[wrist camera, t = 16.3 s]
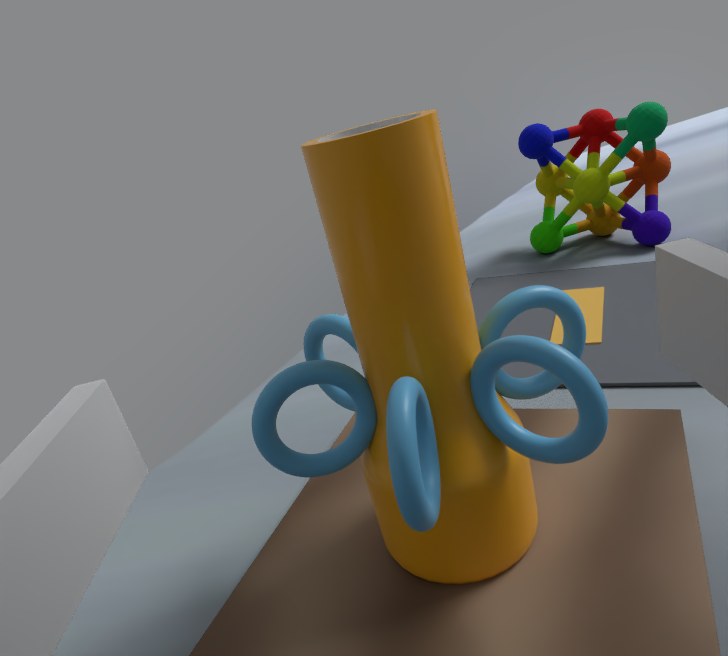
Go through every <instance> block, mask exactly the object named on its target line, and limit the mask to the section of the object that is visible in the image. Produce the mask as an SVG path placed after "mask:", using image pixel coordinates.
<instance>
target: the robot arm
mask: <svg viewBox="0 0 728 656" xmlns="http://www.w3.org/2000/svg"><path fill="white" fill-rule="evenodd" d="M655 258H656V279H657V300H658V322H659V343H660V354H661V355H663V356H664V357H665V358H666V359H668V360H669V361H670V362H671V363H673V364H674V365H675V366H677V367H678V368H679V369H680V370H682V371H683V372H684V373H685V374H687V375H688V376H689V377H691V378H692V379H693V380H694V381H696V382H697V383H698V384H699V385H701V386H702V387H703V388H704V389H706V390H707V391H708V392H710V393H711V394H712V395H713V396H715V397H716V398H717V399H718V400H720V401H721V402H722V403H723V404H725V405H726V406H727V407H728V252H725V251H723V250H720V249H717V248H715V247H712V246H710V245H707V244H705V243H702V242H699V241H697V240H694V239H692V238H685V239H681V240H676V241H672V242H668V243H664V244H660V245H656V246H655ZM148 472H149V471H148V469H147V467H146V465H145V463H144V461H143V459H142V456H141V454H140V452H139V450H138V448H137V446H136V444H135V442H134V439H133V437H132V435H131V433H130V431H129V429H128V427H127V425H126V423H125V420H124V418H123V416H122V414H121V412H120V410H119V408H118V406H117V403H116V401H115V399H114V397H113V395H112V393H111V391H110V389H109V387H108V384H107V382H106V380H105V379H102V380H97V381H93V382H89V383H85V384H81V385H77V386H74V387H73V388H72V389H71V390H70V391H69V392H68V393H67V395H66V396H65V397H64V398H63V399H62V400H61V401H60V402H59V403H58V404H57V405H56V406H55V407H54V408H53V409H52V411H50V413H49V414H48V415H47V416H46V417H45V418H44V419H43V420H42V421H41V422H40V423H39V424H38V425H37V426H36V427H35V429H34V430H33V431H32V432H31V433H30V434H29V435H28V436H27V437H26V438H25V439H24V440H23V441H22V442H21V443H20V445H18V447H17V448H16V449H15V450H14V451H13V452H12V453H11V454H10V455H9V456H8V457H7V458H6V459H5V460H4V461H3V462H2V463H1V465H0V656H52V655H53V653H54V652H55V650H56V648H57V646H58V644H59V642H60V640H61V638H62V636H63V634H64V632H65V631H66V629H67V627H68V625H69V623H70V621H71V619H72V617H73V615H74V613H75V611H76V610H77V608H78V606H79V604H80V602H81V600H82V598H83V596H84V594H85V592H86V590H87V588H88V587H89V585H90V583H91V581H92V579H93V577H94V575H95V573H96V571H97V569H98V567H99V566H100V564H101V562H102V560H103V558H104V556H105V554H106V552H107V550H108V548H109V546H110V545H111V543H112V541H113V539H114V537H115V535H116V533H117V531H118V529H119V527H120V525H121V523H122V522H123V520H124V518H125V516H126V514H127V512H128V510H129V508H130V506H131V504H132V502H133V501H134V499H135V497H136V495H137V493H138V491H139V489H140V487H141V485H142V483H143V481H144V479H145V478H146V476H147V474H148Z"/></svg>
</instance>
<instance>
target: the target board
mask: <svg viewBox="0 0 728 656" xmlns="http://www.w3.org/2000/svg"><path fill="white" fill-rule="evenodd" d="M513 410H514V411H515V412H516V414H517V415H518V416H519V418H520V420H521V422H522V424H523V427H524V428H525V429H526V430H528V431H530V432H532V433H534V434H537V435H540V436H543V437H549V438H559V437H564V436H567V435H569V434H570V433H572V432H573V431H574V429H575V428H576V426H577V423H578V409H513ZM355 419H356V412H355V413H354V415H353V416H352V418H351V419H350V421H349V422H348V424H347V425H346V427H345V428H344V430H343V431H342V432H341V434H340V435H339V437H338V438H337V440H336V441H335V443H334V444H333V446H332V447H331V449H333V448H335V447H336V446H338V445H339V444H341V443H342V442H343V441H344V440H345V439H346V438H347V437H348V435H349V434H350V432H351V431H352V429H353V426H354V424H355ZM331 449H330V450H331ZM529 459H530V458H529ZM530 466H531V472H532V478H533V484H534V491H535V497H536V503H537V511H538V526H537V531H536V534H535V537H534V540H533V541H532V543H531V546H530V548H529V549H528V550H527V552H526V553H525V555H524V556H523V557H521V559H520V560H519V561H518V562H516V563H515V564H513V565H512V566H511V567H510V568H509V569H507V570H505V571H503V572H501V573H499V574H497V575H495V576H494V577H491V578H487V579H484V580H481V581H478V582H472V583H465V584H442V583H437V582H431V581H427V580H425V579H423V578H420V577H417V576H415V575H413V574H411V573H410V572H409V571H407V570H405V569H404V568H403V567H402V566H401V565H400V564H399V563H398V562H397V561H396V560H395V559H394V558H393V557H392V556H391V554H390V553H389V551H388V549H387V547H386V545H385V542H384V539H383V536H382V533H381V529H380V526H379V523H378V519H377V516H376V513H375V509H374V506H373V503H372V500H371V496H370V493H369V490H368V486H367V483H366V480H365V476H364V473H363V469H362V465H361V459H360V457H359V458H358V459H356V460H355V461H354V462H353V463H351V464H350V465H349V466H347V467H345V468H344V469H342V470H340V471H337V472H335V473H332V474H329V475H325V476H320V477H311V478H310V479H309V481H308V482H307V484H306V485H305V487H304V488H303V490H302V491H301V493H300V494H299V496H298V497H297V498H296V500H295V501H294V503H293V504H292V506H291V507H290V509H289V510H288V512H287V513H286V515H285V516H284V518H283V519H282V520H281V522H280V523H279V525H278V526H277V528H276V529H275V531H274V532H273V534H272V535H271V537H270V538H269V540H268V541H267V542H266V544H265V545H264V547H263V548H262V550H261V551H260V553H259V554H258V556H257V557H256V559H255V560H254V562H253V563H252V564H251V566H250V567H249V569H248V570H247V572H246V573H245V575H244V576H243V578H242V579H241V581H240V582H239V584H238V585H237V586H236V588H235V589H234V591H233V592H232V594H231V595H230V597H229V598H228V600H227V601H226V603H225V604H224V606H223V607H222V608H221V610H220V611H219V613H218V614H217V616H216V617H215V619H214V620H213V622H212V623H211V625H210V626H209V628H208V629H207V630H206V632H205V633H204V635H203V636H202V638H201V639H200V641H199V642H198V644H197V645H196V647H195V648H194V649H193V651H192V652H191V654H190V655H189V656H720V650H719V644H718V637H717V631H716V625H715V619H714V613H713V607H712V601H711V595H710V588H709V582H708V576H707V570H706V564H705V558H704V552H703V545H702V539H701V533H700V527H699V521H698V515H697V509H696V503H695V496H694V490H693V484H692V478H691V472H690V466H689V460H688V454H687V447H686V441H685V435H684V429H683V423H682V417H681V411H680V410H673V409H608V427H607V431H606V434H605V437H604V439H603V441H602V442H601V444H600V445H599V447H598V448H597V449H596V450H595V451H594V452H593V453H591V454H590V455H589V456H587V457H585V458H583V459H581V460H579V461H576V462H572V463H566V464H550V463H544V462H540V461H536V460H533V459H530Z"/></svg>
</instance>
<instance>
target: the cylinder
mask: <svg viewBox="0 0 728 656" xmlns="http://www.w3.org/2000/svg"><path fill="white" fill-rule="evenodd" d="M301 147H302V151H303V155H304V158H305V162H306V166H307V169H308V173H309V176H310V180H311V184H312V187H313V191H314V194H315V198H316V202H317V205H318V209H319V212H320V216H321V219H322V223H323V227H324V230H325V234H326V238H327V241H328V245H329V249H330V252H331V256H332V259H333V263H334V267H335V270H336V274H337V277H338V281H339V284H340V288H341V292H342V295H343V299H344V303H345V306H346V310H347V314H348V317H349V319H348V318H346V317H344V316H340V315H336V314H326V315H322V316H319V317H317V318H316V319H314V320H313V321H312V322H311V323H310V325H309V326H308V328H307V330H306V332H305V336H304V353H305V358H306V361H307V362H302V363H299V364H296V365H294V366H291V367H289V368H287V369H286V370H284V371H282V372H281V373H279V374H278V375H277V376H275V377H274V378H273V379H272V380H271V381H270V382H269V383H268V384H267V385H266V387H265V388H264V389H263V391H262V392H261V394H260V395H259V397H258V399H257V401H256V404H255V407H254V410H253V415H252V432H253V437H254V441H255V443H256V446H257V448H258V450H259V451H260V453H261V454H262V456H263V457H264V458H265V459H266V460H267V461H268V462H269V463H270V464H271V465H273V466H274V467H275V468H277V469H279V470H281V471H283V472H285V473H287V474H290V475H294V476H299V477H320V476H325V475H329V474H332V473H335V472H337V471H340V470H342V469H344V468H345V467H347V466H349V465H350V464H351V463H353V462H354V461H355V460H356V459H358V458H359V457H360V459H361V465H362V469H363V473H364V476H365V480H366V483H367V486H368V490H369V493H370V496H371V500H372V503H373V506H374V509H375V513H376V516H377V519H378V523H379V526H380V529H381V533H382V536H383V539H384V542H385V545H386V547H387V549H388V551H389V553H390V554H391V556H392V557H393V558H394V559H395V560H396V561H397V562H398V563H399V564H400V565H401V566H402V567H403V568H404V569H405V570H407V571H409V572H410V573H411V574H413V575H415V576H417V577H420V578H423V579H425V580H427V581H431V582H437V583H442V584H465V583H472V582H478V581H481V580H484V579H487V578H491V577H494V576H495V575H497V574H499V573H501V572H503V571H505V570H507V569H509V568H510V567H511V566H512V565H513V564H515V563H516V562H518V561H519V560H520V559H521V557H523V556H524V555H525V553H526V552H527V550H528V549H529V548H530V546H531V543H532V541H533V540H534V537H535V534H536V531H537V526H538V511H537V503H536V497H535V491H534V484H533V478H532V472H531V466H530V459H533V460H536V461H540V462H544V463H550V464H566V463H572V462H576V461H579V460H581V459H583V458H585V457H587V456H589V455H590V454H591V453H593V452H594V451H595V450H596V449H597V448H598V447H599V445H600V444H601V442H602V441H603V439H604V437H605V434H606V431H607V427H608V407H607V402H606V398H605V395H604V393H603V391H602V388H601V386H600V384H599V383H598V381H597V379H596V378H595V376H594V375H593V374H592V372H591V371H590V370H589V369H588V368H587V366H586V365H585V364H584V363H583V362H582V361H581V360H580V359H581V356H582V354H583V351H584V347H585V342H586V324H585V319H584V316H583V313H582V311H581V309H580V307H579V306H578V304H577V303H576V302H575V300H574V299H573V298H572V297H571V296H569V295H568V294H567V293H565V292H563V291H562V290H560V289H557V288H554V287H551V286H544V285H535V286H528V287H524V288H521V289H518V290H516V291H514V292H512V293H510V294H508V295H507V296H505V297H504V298H502V299H501V300H500V301H499V302H497V303H496V304H495V305H494V306H493V307H492V309H491V310H490V311H489V312H488V314H487V315H486V317H485V318H484V320H483V322H482V324H481V326H480V328H479V331H478V330H477V324H476V319H475V314H474V309H473V303H472V298H471V292H470V287H469V282H468V276H467V271H466V266H465V260H464V255H463V249H462V244H461V239H460V233H459V228H458V222H457V218H456V212H455V206H454V201H453V195H452V190H451V184H450V179H449V173H448V168H447V163H446V157H445V152H444V146H443V141H442V135H441V130H440V124H439V119H438V114H437V110H436V109H433V110H426V111H420V112H416V113H411V114H406V115H401V116H397V117H393V118H389V119H385V120H381V121H377V122H373V123H369V124H365V125H361V126H358V127H354V128H350V129H347V130H343V131H340V132H336V133H333V134H330V135H327V136H323V137H320V138H317V139H314V140H311V141H309V142H306V143H304V144H302V145H301ZM532 308H546V309H549V310H551V311H553V312H554V313H555V314H557V316H558V317H559V318H560V320H561V322H562V326H563V342H562V346H559V345H557V344H555V343H553V342H551V341H548V340H545V339H542V338H538V337H534V336H526V335H514V336H507V337H503V338H500V337H501V335H502V333H503V331H504V329H505V328H506V326H507V325H508V324H509V323H510V322H511V321H512V320H513V319H514V318H515V317H516V316H517V315H519V314H520V313H522V312H524V311H526V310H529V309H532ZM328 334H333V335H336V336H339V337H341V338H342V339H344V340H345V341H347V342H348V343H349V344H350V345H351V346H352V347H353V348H354V349H355V350H356V352H357V353H358V354H359V358H360V362H361V365H362V369H363V373H364V377H365V378H364V377H363V376H362V375H361V374H360V373H359V372H357V371H356V370H354V369H353V368H351V367H349V366H347V365H345V364H342V363H339V362H335V361H329V360H326V359H325V357H324V353H323V339H324V337H325V336H326V335H328ZM512 362H525V363H530V364H533V365H536V366H539V367H541V368H543V369H545V370H543V371H542V372H540V373H539V374H537V375H534V376H531V377H528V378H515V377H512V376H510V375H508V374H507V373H505V372H504V371H503V369H502V368H501V367H503V366H504V365H506V364H508V363H512ZM562 383H563V384H564V385H565V386H566V388H567V389H568V390H569V392H570V393H571V395H572V396H573V398H574V400H575V403H576V405H577V409H578V423H577V426H576V428H575V429H574V431H573V432H572V433H570V434H569V435H567V436H564V437H559V438H549V437H543V436H540V435H537V434H534V433H532V432H530V431H528V430H526V429H525V428H524V427H523V424H522V422H521V420H520V418H519V416H518V415H517V414H516V412H515V411H514V410H513V409H512V407H511V406H510V405H509V404H508V403H507V402H506V401H505V399H504V398H503V397H502V396H505V397H508V398H512V399H531V398H536V397H539V396H542V395H544V394H547V393H549V392H550V391H552V390H554V389H555V388H557V387H558V386H559V385H561V384H562ZM314 384H318V385H319V386H320V387H321V389H322V390H323V391H324V392H325V393H326V394H327V395H328V396H329V397H330V398H331V399H332V400H334V401H335V402H336V403H338V404H339V405H341V406H342V407H344V408H346V409H349V410H352V411H356V419H355V424H354V426H353V429H352V431H351V432H350V434H349V435H348V437H347V438H346V439H345V440H344V441H343V442H342V443H341V444H339V445H338V446H336V447H335V448H333V449H331V450H329V451H326V452H323V453H318V454H303V453H299V452H296V451H293V450H291V449H290V448H288V447H287V446H286V445H285V444H284V443H283V442H282V441H281V440H280V438H279V436H278V434H277V430H276V418H277V414H278V411H279V409H280V407H281V405H282V404H283V402H284V401H285V400H286V399H287V398H288V397H289V396H290V395H291V394H293V393H294V392H295V391H297V390H299V389H301V388H303V387H306V386H309V385H314ZM501 395H502V396H501ZM529 458H530V459H529Z"/></svg>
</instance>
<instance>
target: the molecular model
mask: <svg viewBox="0 0 728 656" xmlns="http://www.w3.org/2000/svg"><path fill="white" fill-rule="evenodd" d="M667 121H668V119H667V112H666V110H665V108H664V107H663V106H661V105H660V104H658V103H655V102H645V103H642V104H640V105H638V106H636V107H635V108H634V109H632V111H631V112H630V114H629V115H628V117H627V118H618V119H613V117H612V115H611V114H610V113H609V112H608V111H606V110H604V109H594V110H591V111H589V112H587V113H586V114H585V115H584V116H583V117H582V118H581V120H580V122H579V125H577V126H574V127H569V128H565V129H561V130H557V131H551V130H550V129H549V127H547V126H545V125H543V124H533V125H530V126H528V127H526V128H525V129H524V130H523V131H522V133H521V134H520V137H519V143H518V144H519V149H520V152H521V153H522V154H523V155H524V156H525V157H527V158H529V159H537V161H538V163H539V165H540V168H541V171H540V172H539V173H538V175H537V178H536V187H537V189H538V191H539V192H540V193H541V194H542V195H544V196H545V204H544V214H543V222H541V223H539V224H538V225H536V226H535V227H534V228H533V230H532V231H531V235H530V241H531V244H532V246H533V247H534V249H535V250H537V251H539V252H540V253H551V252H554V251H556V250H557V249H558V248H559V247H560V246H561V244H562V241H563V238H564V237H567V236H571V235H574V234H577V233H580V232H584V231H587V230H590V231H591V232H592V233H593V234H595V235H598V236H605V235H609V234H611V233H613V232H614V231H615V230H616V229H617V228H620V229H625V230H631V231H632V233H633V236H634V238H635V239H636V241H638V242H639V243H640V244H643V245H647V246H653V245H657V244H659V243H661V242H663V241H665V239H666V238H667V237H668V236H669V234H670V231H671V222H670V219H669V218H668V217H667V215H665V214H664V213H663V212H660V211H658V183H659V182H661V181H663V180H664V179H665V178H666V177H667V176H668V174H669V172H670V169H671V161H670V158H669V157H668V156H667V154H666V153H664V152H662V151H659V150H656V142H655V138H657V137H658V136H659V135H661V133H662V132H663V131H664V130H665V128H666V125H667ZM618 130H627V131H628V135H627V136H626V137H625V138H624V139H623V138H621V137H620V136H619V135H617V134H616V133H615V132H613V131H618ZM579 136H580V139H579V140H578V141H577V143H576V144H575V145H574V146H573V148H572V149H571V150H570V152H568V153H567V155H566V156H565V157H564V156H563V155H562V154H561V153H559V152H558V151H557V150H556V149H554V148H553V147H552V145H553V143H555V142H559V141H563V140H568V139H571V138H575V137H579ZM604 141H606V142H607V143H608V144H610V145H611V146H613V147H614V148H615V150H614V151H613V152H612V153H611V155H610V156H609V157H608V158H607V159H606V160H605V162H604V163H603V164H602V165H601V166H600V167H599V159H600V145H601V143H602V142H604ZM638 141H642V145H643V153H642V152H641V151H639V150H638V149H637V148H635V147H634V145H635V144H636V143H637V142H638ZM588 145H589V146H588ZM587 146H588V158H587V169H586V170H584V171H582V170H581V169H579V168H578V167H577V166H576V165H574V164H573V163H574V162H575V160H576V159H577V158H578V157H579V156H580V155H581V153H582V152H583V151H584V150H585V148H586V147H587ZM625 156H626V157H628V158H629V159H630V160H632V161H633V162H634V165H633V167H632V168H629V169H626V170H623V171H619V172H616V173H613V174H610V173H611V172H612V170H613V169H614V168H615V167H616V166H617V165H618V164H619V162H620V161H621V160H622V159H623V158H624V157H625ZM550 161H551V162H552V163H553V164H555V165H551V162H550ZM568 176H570V177H571V178H568ZM632 179H633V180H632ZM629 180H632V181H631V182H630V183H629V185H628V186H627V187H626V188H625V189H624V190H623V191H622V192H621V193H620V194H619V195H618V196H616V195H614V194H613V193H611V192H610V191H609V188H610V186H613V185H616V184H619V183H622V182H625V181H629ZM644 184H645V212H644V213H642V214H641V213H640V212H639V211H637V210H636V209H634V208H633V207H631V206H630V205H628V204H627V203H626V202H627V201H628V200H629V199H630V198H632V197H633V196H634V194H635V193H636V192H637V191H638V190H639V189H640V188H641V187H642V186H643V185H644ZM558 195H562V196H563V197H564V198H566V199H567V200H568V201H569V202H570V203H569V204H568V205H567V206H566V207H565V208H564V210H563V211H562V212H561V213H560V214H559V215H558V217H557V218H556V219H555V220H554V213H555V202H556V196H558ZM603 202H604V203H605V204H604V203H603ZM578 209H580V210H581V211H583V212H584V213H585V214H587V218H586V220H584V221H580V222H577V223H574V224H571V225H567V226H564V225H565V224H566V223H567V222H568V221H569V220H570V218H571V217H572V216H573V215H574V214H575V213H576V212H577V210H578ZM619 213H620V214H621V215H622V216H624V217H625V218H621V217H620V214H619ZM563 226H564V227H563Z"/></svg>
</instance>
